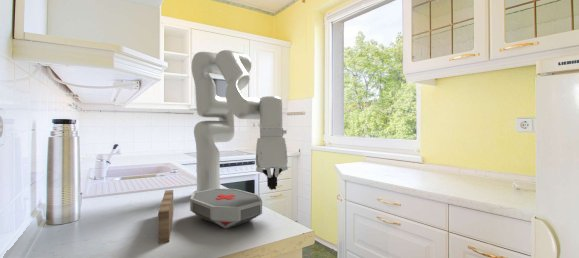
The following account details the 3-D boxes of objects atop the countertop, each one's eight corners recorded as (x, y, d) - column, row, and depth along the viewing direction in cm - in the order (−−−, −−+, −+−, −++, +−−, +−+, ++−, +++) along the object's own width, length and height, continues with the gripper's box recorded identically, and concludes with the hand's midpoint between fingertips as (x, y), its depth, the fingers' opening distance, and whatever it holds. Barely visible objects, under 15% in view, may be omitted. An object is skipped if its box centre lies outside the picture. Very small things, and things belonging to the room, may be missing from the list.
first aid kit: (180, 218, 95) (225, 239, 78) (180, 195, 94) (225, 211, 78) (225, 206, 108) (272, 222, 91) (225, 186, 107) (272, 198, 90)
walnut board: (165, 214, 98) (165, 190, 98) (173, 213, 99) (173, 189, 99) (158, 243, 75) (158, 212, 74) (169, 241, 76) (168, 211, 75)
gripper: (288, 133, 103) (289, 184, 103) (246, 134, 98) (247, 188, 98) (296, 133, 96) (297, 189, 96) (251, 134, 91) (252, 193, 91)
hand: (272, 188), depth 97 cm, fingers closed
